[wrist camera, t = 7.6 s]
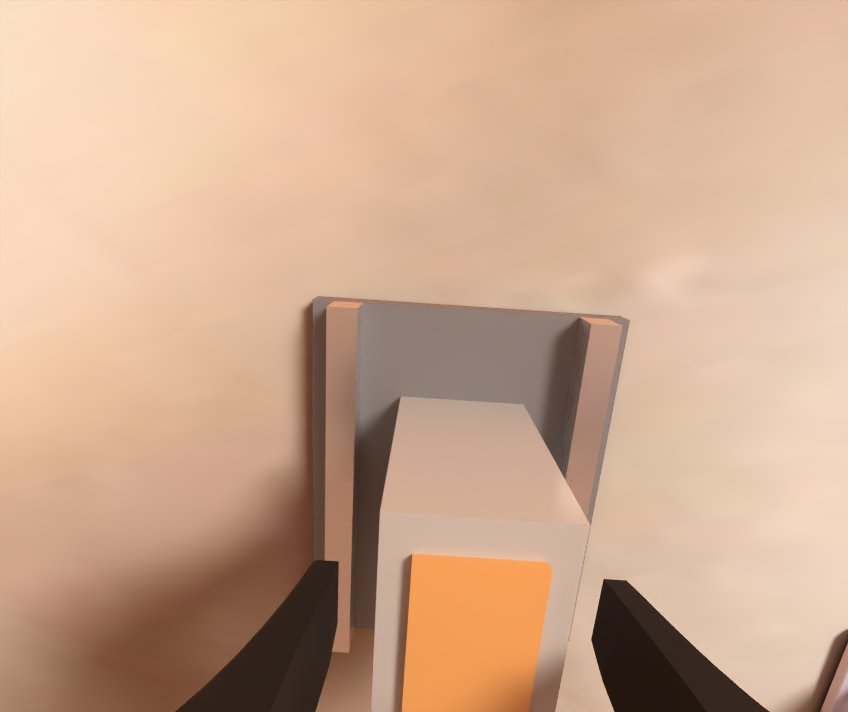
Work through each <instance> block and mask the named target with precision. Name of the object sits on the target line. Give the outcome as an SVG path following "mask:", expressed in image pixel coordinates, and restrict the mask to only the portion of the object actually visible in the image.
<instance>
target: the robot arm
mask: <svg viewBox="0 0 848 712" xmlns="http://www.w3.org/2000/svg"><path fill="white" fill-rule="evenodd" d="M338 574H339V561H326V560H316V561H314V562H313V563H312V564H311V566H310V567H309V569H308V570H307V571H306V573H305V574H304V576H303V577H302V578H301V580H300V581H299V583H298V584H297V585H296V587H295V588H294V589H293V590H292V592H291V593H290V594H289V596H288V597H287V598H286V599H285V601H284V602H283V603H282V604H281V605H280V607H279V608H278V609H277V610H276V612H275V613H274V614H273V615H272V616H271V618H270V619H269V620H268V621H267V622H266V624H265V625H264V626H263V627H262V628H261V629H260V630H259V631H258V632H257V634H256V635H255V636H254V637H253V638H252V639H251V640H250V641H249V642H248V643H247V644H246V646H245V647H244V648H243V649H242V650H241V651H240V652H239V653H238V654H237V655H236V656H235V657H234V658H233V659H232V660H231V661H230V662H229V663H228V664H227V665H226V666H225V667H224V668H223V669H222V670H221V671H220V672H219V673H218V674H217V675H216V676H215V677H214V678H213V679H212V680H211V681H210V682H208V683H207V684H206V685H205V686H204V687H203V688H202V689H201V690H200V691H198V692H197V693H196V694H195V695H194V696H193V697H192V698H191V699H189V700H188V701H187V702H186V703H185V704H184V705H183V706H181V707H180V708H179V709H178V710H177V711H176V712H315V711H316V708H317V704H318V701H319V698H320V694H321V691H322V688H323V684H324V681H325V678H326V674H327V671H328V667H329V664H330V659H331V654H332V649H333V644H334V639H335V634H336V629H337V623H338ZM591 640H592V644H593V648H594V651H595V655H596V659H597V663H598V666H599V670H600V673H601V676H602V680H603V683H604V686H605V688H606V691H607V694H608V696H609V699H610V701H611V704H612V706H613V709H614V711H615V712H769V711H768V710H766V709H765V708H764V707H763V706H761V705H760V704H759V703H758V702H756V701H755V700H754V699H753V698H752V697H750V696H749V695H748V694H747V693H746V692H744V691H743V690H742V689H741V688H740V687H739V686H737V685H736V684H735V683H734V682H733V681H732V680H731V679H729V678H728V677H727V676H726V675H725V674H724V673H723V672H721V671H720V670H719V669H718V668H717V667H716V666H715V665H714V664H712V663H711V662H710V661H709V660H708V659H707V658H706V657H705V656H704V655H703V654H702V653H700V652H699V651H698V650H697V649H696V648H695V647H694V646H693V645H692V644H691V643H690V642H689V641H688V640H687V639H686V638H685V637H684V636H683V635H681V634H680V633H679V632H678V631H677V630H676V629H675V628H674V627H673V626H672V625H671V624H670V623H669V622H668V621H667V620H666V619H665V618H664V617H663V616H662V615H661V614H660V613H659V612H658V611H657V610H656V609H655V608H654V607H653V606H652V605H651V604H650V603H649V602H648V601H647V600H646V599H645V598H644V597H643V596H642V595H641V594H640V593H639V592H638V591H637V590H636V589H635V588H634V587H633V586H631V585H630V584H629V583H628V582H627V581H624V580H609V579H604V580H603V585H602V590H601V595H600V600H599V605H598V610H597V615H596V619H595V624H594V629H593V634H592V639H591ZM820 712H848V644H847V646H846V649H845V651H844V654H843V656H842V659H841V661H840V664H839V666H838V669H837V671H836V674H835V676H834V679H833V681H832V684H831V686H830V689H829V691H828V694H827V696H826V699H825V701H824V704H823V706H822V709H821V711H820Z"/></svg>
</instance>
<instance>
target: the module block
mask: <svg viewBox="0 0 848 712" xmlns="http://www.w3.org/2000/svg"><path fill="white" fill-rule="evenodd" d="M589 529H590V524H589V522H588V520H587V518H586V516H585V515H584V513H583V511H582V509H581V507H580V506H579V504H578V502H577V500H576V498H575V497H574V495H573V493H572V491H571V489H570V487H569V486H568V484H567V482H566V480H565V478H564V477H563V475H562V473H561V471H560V469H559V468H558V466H557V464H556V462H555V460H554V459H553V457H552V455H551V453H550V451H549V450H548V448H547V446H546V444H545V442H544V441H543V439H542V437H541V435H540V433H539V432H538V430H537V428H536V426H535V424H534V422H533V421H532V419H531V417H530V415H529V413H528V412H527V410H526V408H525V406H524V404H510V403H495V402H479V401H464V400H449V399H433V398H418V397H403V396H401V398H400V404H399V409H398V415H397V420H396V426H395V431H394V437H393V442H392V448H391V453H390V459H389V464H388V470H387V475H386V481H385V486H384V492H383V497H382V503H381V509H380V522H379V544H378V567H377V590H376V612H375V635H374V658H373V680H372V703H371V712H555V709H556V704H557V698H558V693H559V688H560V682H561V677H562V672H563V667H564V661H565V656H566V651H567V646H568V640H569V635H570V630H571V624H572V619H573V614H574V609H575V603H576V598H577V593H578V587H579V582H580V577H581V572H582V566H583V561H584V556H585V551H586V545H587V540H588V535H589Z"/></svg>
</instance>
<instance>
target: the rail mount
mask: <svg viewBox="0 0 848 712" xmlns="http://www.w3.org/2000/svg"><path fill="white" fill-rule="evenodd" d="M629 321H630V320H627V319H625V318H623V317H620V316H605V315H590V314H575V313H560V312H545V311H530V310H515V309H500V308H485V307H470V306H455V305H440V304H425V303H410V302H395V301H380V300H365V299H350V298H334V297H319V296H318V297H316V298H314V299H313V562H314V561H316V560H326V561H339V574H338V623H337V629H336V634H335V639H334V644H333V649H332V652H343V653H349V650H350V645H351V640H352V635H353V630H354V627H355V628H371V629H375V612H376V590H377V567H378V544H379V522H380V509H381V503H382V497H383V492H384V486H385V481H386V475H387V470H388V464H389V459H390V453H391V448H392V442H393V437H394V431H395V426H396V420H397V415H398V409H399V404H400V398H401V396H403V397H418V398H433V399H449V400H464V401H479V402H495V403H510V404H524V406H525V408H526V410H527V412H528V413H529V415H530V417H531V419H532V421H533V422H534V424H535V426H536V428H537V430H538V432H539V433H540V435H541V437H542V439H543V441H544V442H545V444H546V446H547V448H548V450H549V451H550V453H551V455H552V457H553V459H554V460H555V462H556V464H557V466H558V468H559V469H560V471H561V473H562V475H563V477H564V478H565V480H566V482H567V484H568V486H569V487H570V489H571V491H572V493H573V495H574V497H575V498H576V500H577V502H578V504H579V506H580V507H581V509H582V511H583V513H584V515H585V516H586V518H587V520H588V522H589V524H590V527H591V522H592V516H593V511H594V506H595V500H596V495H597V490H598V485H599V479H600V474H601V469H602V464H603V458H604V453H605V448H606V443H607V437H608V432H609V427H610V422H611V416H612V411H613V406H614V400H615V395H616V390H617V385H618V379H619V374H620V369H621V364H622V358H623V353H624V348H625V343H626V337H627V332H628V327H629ZM589 532H590V529H589ZM588 537H589V535H588ZM587 543H588V540H587ZM586 548H587V545H586ZM585 553H586V551H585ZM584 558H585V556H584ZM583 564H584V561H583ZM582 569H583V566H582ZM581 574H582V572H581ZM580 579H581V577H580ZM579 585H580V582H579ZM578 590H579V587H578ZM577 595H578V593H577ZM576 601H577V598H576ZM575 606H576V603H575ZM574 611H575V609H574ZM573 616H574V614H573ZM572 622H573V619H572ZM571 627H572V624H571ZM570 632H571V630H570ZM569 637H570V635H569ZM568 641H569V640H568Z"/></svg>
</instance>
